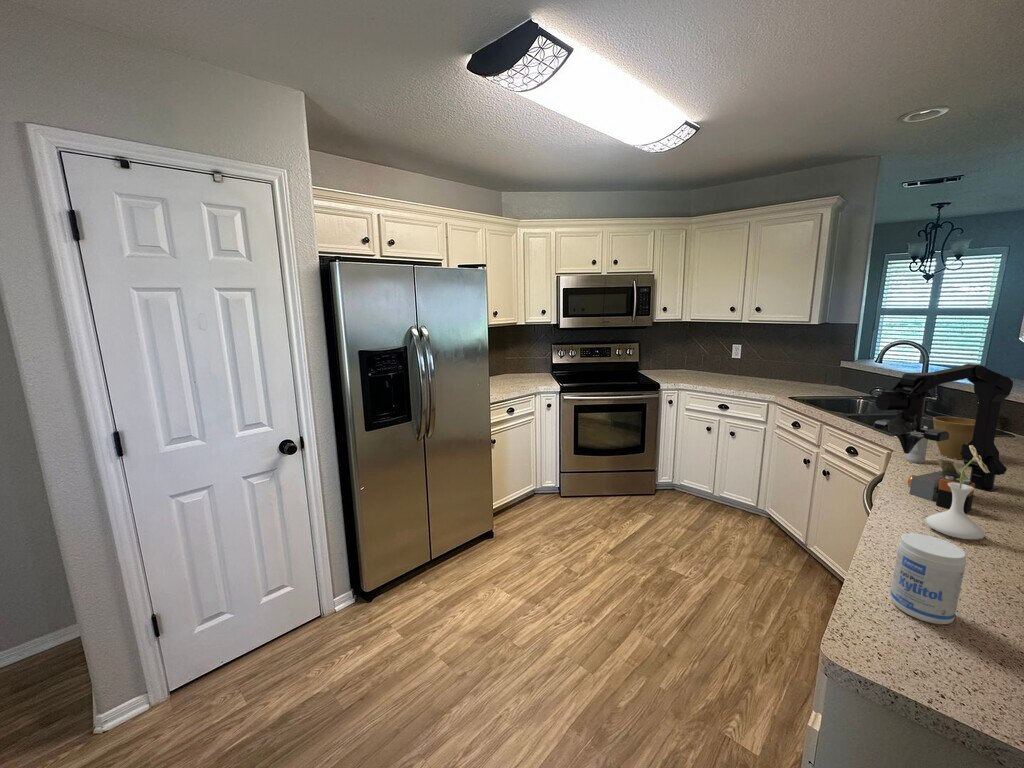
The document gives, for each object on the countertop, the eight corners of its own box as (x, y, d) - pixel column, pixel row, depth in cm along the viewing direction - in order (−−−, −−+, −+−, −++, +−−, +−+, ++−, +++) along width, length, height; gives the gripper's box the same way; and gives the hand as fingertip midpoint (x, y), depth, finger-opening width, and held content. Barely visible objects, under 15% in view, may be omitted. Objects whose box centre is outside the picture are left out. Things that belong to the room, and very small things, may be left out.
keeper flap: (943, 472, 143) (944, 469, 143) (960, 476, 139) (961, 474, 139) (936, 460, 141) (937, 457, 141) (953, 464, 137) (955, 461, 137)
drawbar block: (938, 487, 145) (940, 470, 144) (961, 493, 139) (963, 476, 138) (909, 493, 140) (911, 477, 139) (931, 501, 134) (934, 483, 133)
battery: (965, 514, 125) (971, 483, 123) (935, 505, 131) (939, 475, 129) (971, 511, 127) (976, 480, 125) (940, 502, 133) (945, 473, 131)
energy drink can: (928, 463, 167) (934, 428, 165) (913, 463, 167) (919, 428, 165) (914, 458, 173) (919, 424, 171) (900, 458, 173) (905, 424, 171)
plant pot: (970, 454, 178) (976, 418, 175) (985, 464, 165) (992, 426, 163) (923, 449, 186) (928, 414, 183) (933, 458, 173) (939, 421, 171)
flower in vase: (974, 548, 107) (991, 456, 103) (916, 528, 117) (930, 444, 113) (992, 535, 113) (1008, 448, 109) (936, 518, 123) (949, 437, 119)
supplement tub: (890, 612, 85) (900, 546, 82) (888, 588, 92) (897, 527, 89) (959, 634, 78) (971, 564, 76) (951, 607, 86) (962, 542, 83)
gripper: (865, 406, 148) (861, 448, 150) (931, 418, 130) (925, 465, 133) (886, 404, 151) (881, 444, 154) (953, 414, 134) (946, 460, 136)
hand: (906, 453), depth 144 cm, fingers closed
